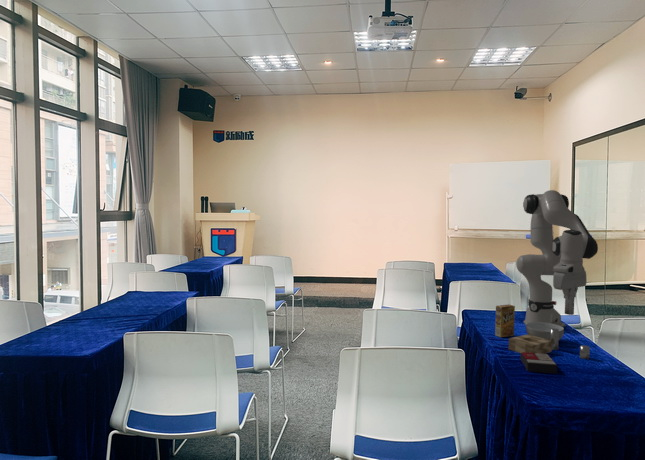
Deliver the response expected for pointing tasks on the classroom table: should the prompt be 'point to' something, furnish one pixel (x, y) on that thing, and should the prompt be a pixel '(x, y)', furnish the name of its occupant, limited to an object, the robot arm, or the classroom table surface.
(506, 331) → the candy box
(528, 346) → the block
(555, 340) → the medium pin
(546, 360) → the calculator
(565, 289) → the robot arm
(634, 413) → the classroom table surface
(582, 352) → the short pin
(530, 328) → the cereal bowl
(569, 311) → the long pin
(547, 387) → the classroom table surface
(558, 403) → the classroom table surface
